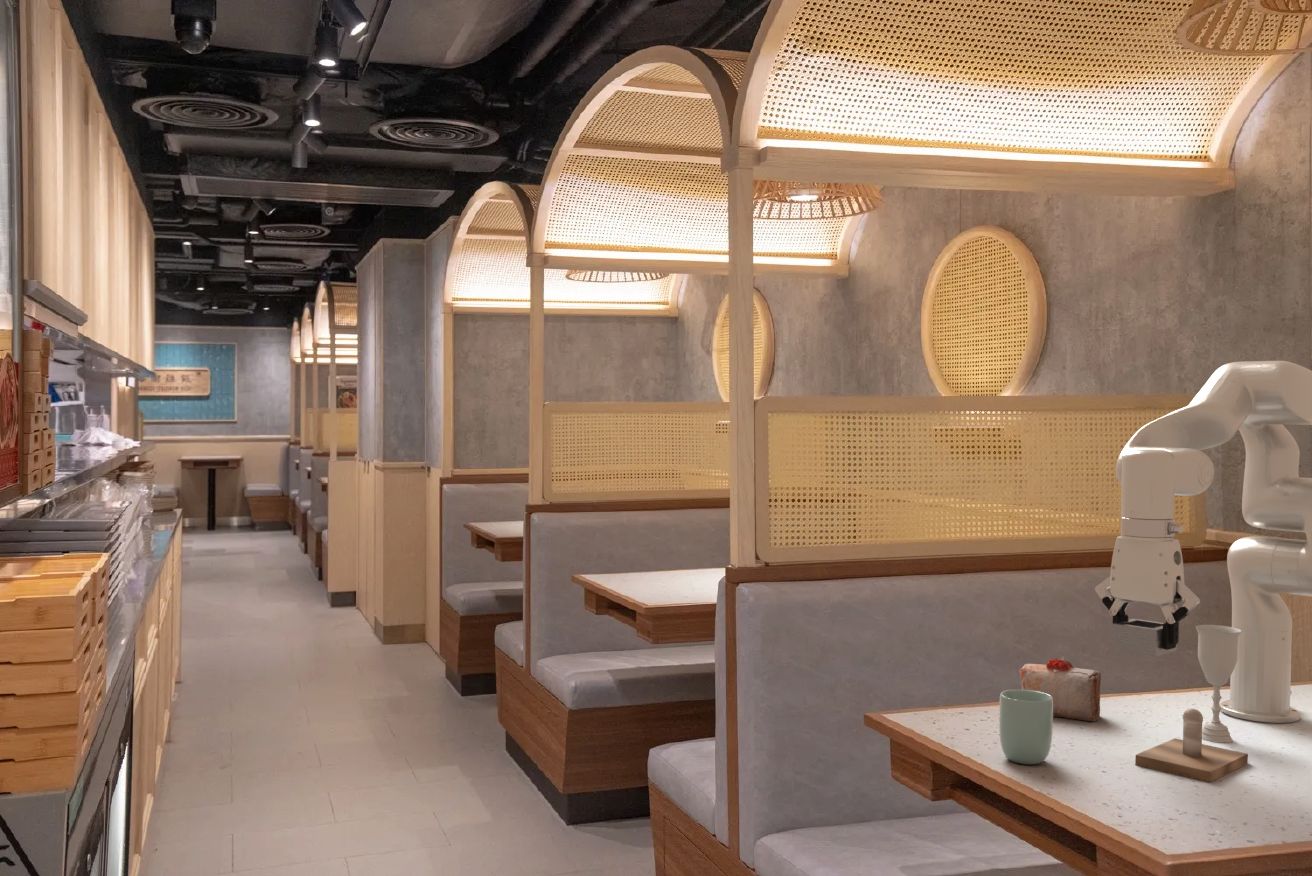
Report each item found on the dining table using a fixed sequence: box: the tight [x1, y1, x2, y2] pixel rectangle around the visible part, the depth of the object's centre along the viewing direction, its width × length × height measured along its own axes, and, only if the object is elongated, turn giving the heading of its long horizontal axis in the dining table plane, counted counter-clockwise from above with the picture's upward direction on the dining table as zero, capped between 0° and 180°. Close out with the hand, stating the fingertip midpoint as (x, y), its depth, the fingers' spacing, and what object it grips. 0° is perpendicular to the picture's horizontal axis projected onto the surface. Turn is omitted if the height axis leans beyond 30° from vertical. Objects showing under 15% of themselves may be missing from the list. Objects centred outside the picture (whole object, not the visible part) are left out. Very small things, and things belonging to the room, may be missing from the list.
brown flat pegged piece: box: [1134, 708, 1249, 783], centre depth 177 cm, size 14×11×8 cm
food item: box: [1018, 656, 1102, 722], centre depth 206 cm, size 14×8×10 cm, turn 58°
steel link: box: [1111, 618, 1178, 657], centre depth 180 cm, size 7×7×4 cm
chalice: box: [1195, 624, 1241, 743], centre depth 191 cm, size 7×7×18 cm
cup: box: [998, 689, 1054, 765], centre depth 177 cm, size 8×8×10 cm
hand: (1144, 643), depth 180 cm, fingers closed on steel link, 7 cm apart
